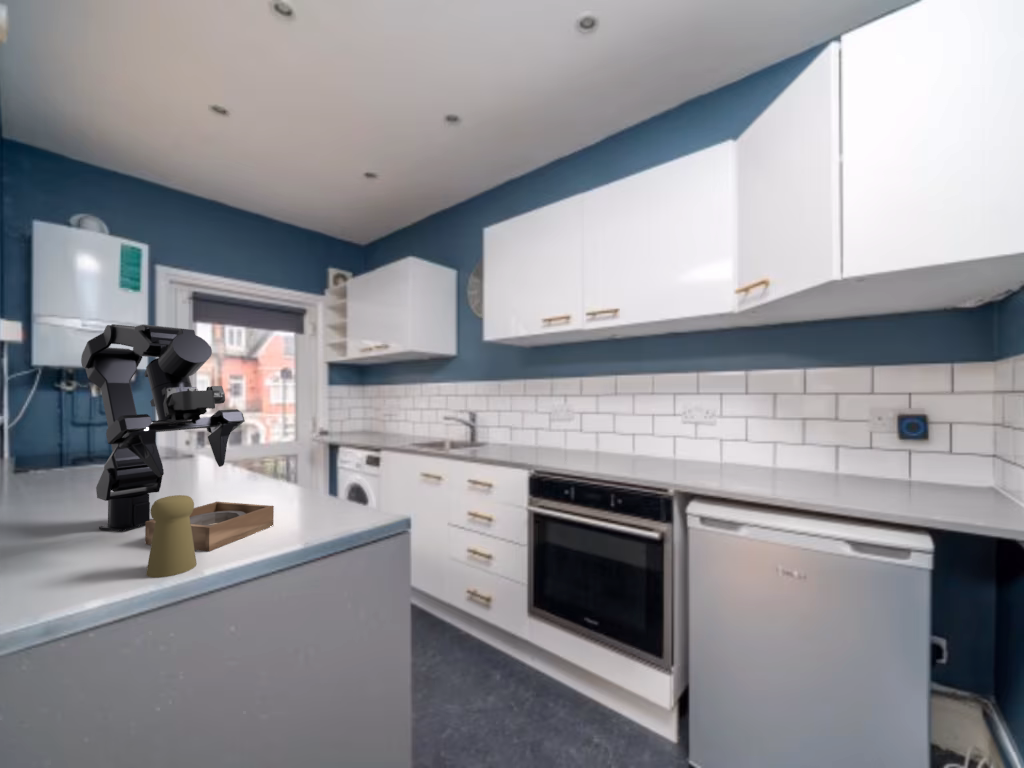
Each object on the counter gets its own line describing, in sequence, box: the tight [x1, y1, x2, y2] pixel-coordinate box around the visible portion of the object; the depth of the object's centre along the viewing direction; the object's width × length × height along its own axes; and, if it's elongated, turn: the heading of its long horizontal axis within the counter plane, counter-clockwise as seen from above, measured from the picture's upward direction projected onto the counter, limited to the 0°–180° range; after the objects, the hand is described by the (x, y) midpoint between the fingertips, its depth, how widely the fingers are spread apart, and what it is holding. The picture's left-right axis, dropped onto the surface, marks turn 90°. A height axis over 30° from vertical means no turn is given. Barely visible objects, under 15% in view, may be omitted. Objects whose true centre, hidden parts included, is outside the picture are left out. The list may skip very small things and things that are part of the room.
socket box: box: [144, 501, 275, 552], centre depth 81 cm, size 14×14×4 cm
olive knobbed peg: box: [145, 494, 197, 579], centre depth 65 cm, size 6×6×11 cm
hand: (193, 470), depth 73 cm, fingers open, 9 cm apart
